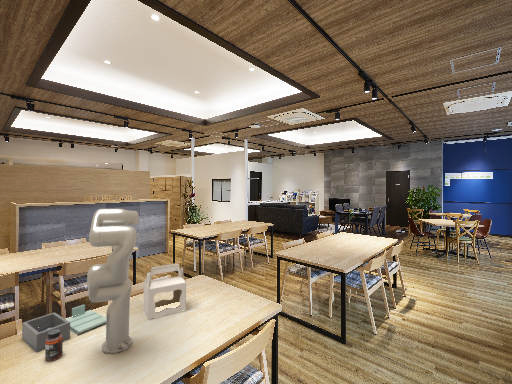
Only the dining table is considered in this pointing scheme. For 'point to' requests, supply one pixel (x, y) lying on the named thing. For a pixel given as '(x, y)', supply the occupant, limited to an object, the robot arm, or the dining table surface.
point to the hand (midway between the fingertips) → (120, 262)
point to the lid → (84, 319)
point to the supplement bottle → (53, 345)
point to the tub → (44, 330)
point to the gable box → (164, 285)
